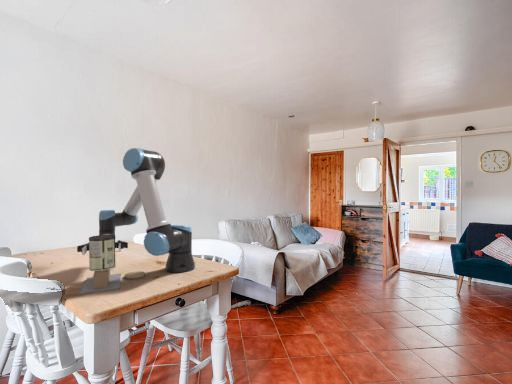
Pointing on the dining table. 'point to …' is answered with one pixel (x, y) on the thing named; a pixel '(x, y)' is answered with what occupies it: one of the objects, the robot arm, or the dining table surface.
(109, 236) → the coffee can
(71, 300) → the dining table surface
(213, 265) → the dining table surface
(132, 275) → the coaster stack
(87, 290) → the fulcrum board
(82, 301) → the dining table surface
